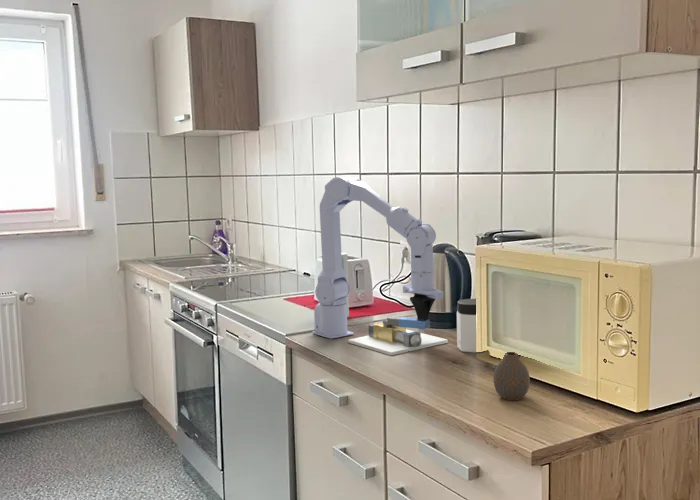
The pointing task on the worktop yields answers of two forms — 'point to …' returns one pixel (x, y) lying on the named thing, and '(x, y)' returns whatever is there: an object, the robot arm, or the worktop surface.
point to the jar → (466, 325)
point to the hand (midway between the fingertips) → (423, 323)
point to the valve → (394, 334)
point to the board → (396, 344)
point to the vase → (511, 377)
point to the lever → (407, 322)
